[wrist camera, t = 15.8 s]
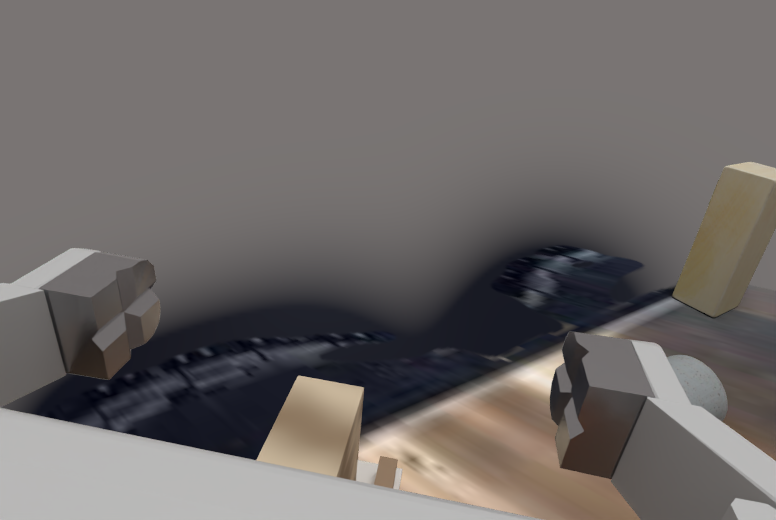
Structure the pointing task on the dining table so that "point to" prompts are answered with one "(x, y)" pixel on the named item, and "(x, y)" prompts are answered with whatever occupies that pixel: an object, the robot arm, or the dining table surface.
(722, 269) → the toy refrigerator
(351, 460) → the wooden block
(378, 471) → the track
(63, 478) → the robot arm
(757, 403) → the dining table surface
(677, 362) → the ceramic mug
